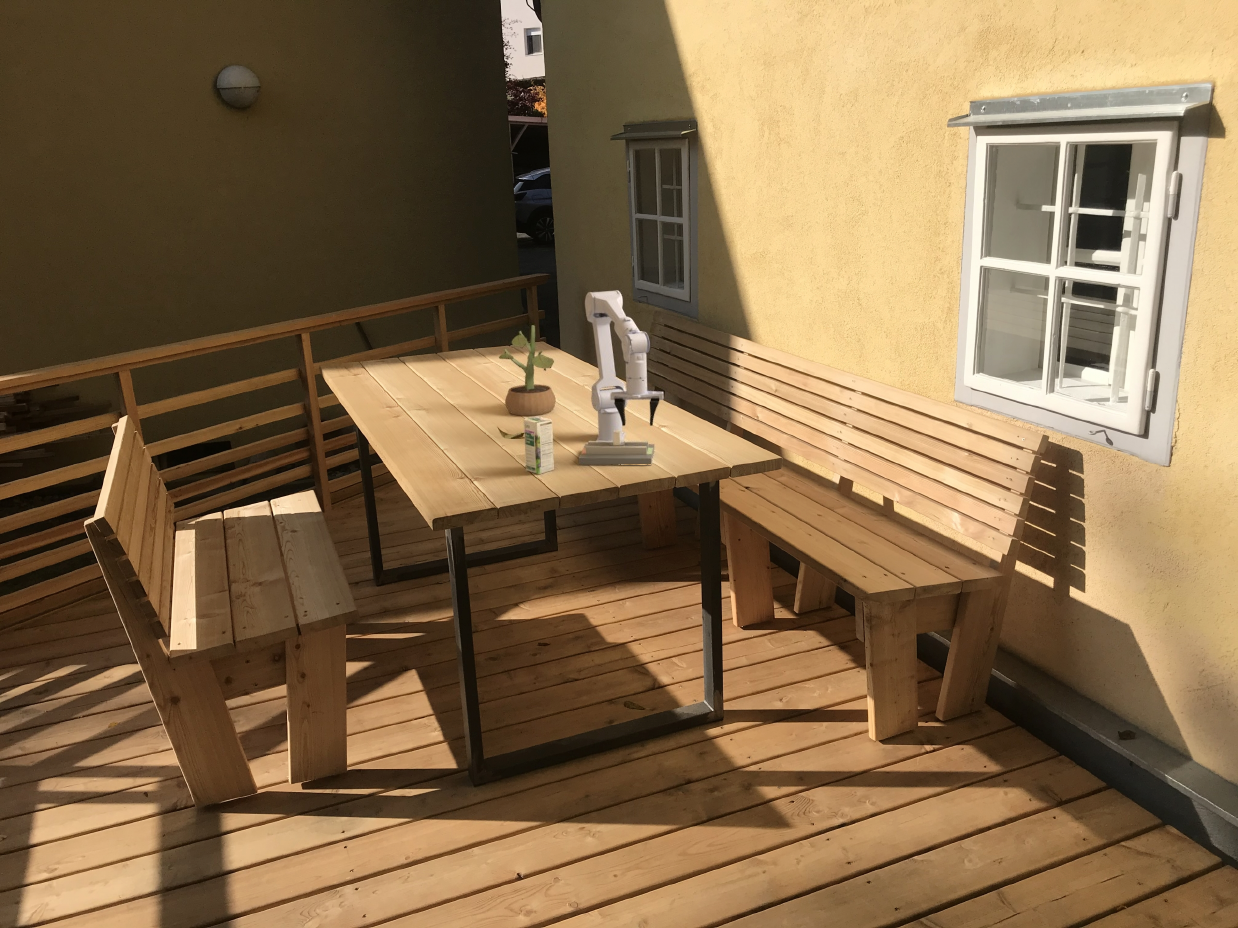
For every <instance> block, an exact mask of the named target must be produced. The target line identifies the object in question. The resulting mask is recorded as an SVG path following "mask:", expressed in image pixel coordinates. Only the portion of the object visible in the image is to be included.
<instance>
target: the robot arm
mask: <svg viewBox="0 0 1238 928" xmlns="http://www.w3.org/2000/svg"><path fill="white" fill-rule="evenodd" d="M622 295H623V294H621V291H619V290H617V289H616V290H608V291H607V290H606V291H593V292H591V291H588V292H587V294H586V295H585V300H584V308H585V314H586V315H585V316H586V319H587V322H589V323H591V324H592V328H593V337H594V344H595V353H596V360H597V361H596V362H597V368H598V379H597V380H596V381H595V383H593V384H592V385H591V394H590V395H591V397H590V399H591V405H592V408H593V409H594V411H596V412H597V420H598V422H597V424H598V425H597V427H598V435H597V438H596V440H595V441H613V432H614V430H621V441H625V440H624V439H625V437H626V432H623V427H625V426H626V421H627V420H626V413H625V411H626V410H625V409H626V407H627V405H628V402H629V401H631V400H638V401H639V400H650V401H649V427H652V426H654V418H655V414H656V411H657V409H658V406H659V404H660V401H663V400H664V391H656V390H655V391H654V390H653V391H652V390H648V372H647V371H648V370H647V365H648V364H647V354H648V353H649V351H650V348H651V345H650V344H651V342H650V338H649V335H648V333H647V332H646V331H640V329H639V328H638V326H637V325H636V323H635V321H634V320H633V319H632V318H631V317H630V316H626V313H625V311H624V310H623V303H624V302H623V301H624V300H623V296H622ZM612 322H613V323H614V327H613V329H614V331H615V333H616V334H617V336H618V338H619V339H620V341H621V350H622V353H623V354H622V355H623V361H625V380H626V381H625V382H623V380H621V379H619V378H618V377H617V376H616V368H615V360H614V359H615V358H614V353H613V345H612V343H613V342H612V336H611V335H612V334H611V327H610V324H611V323H612ZM625 383H626V384H625ZM625 385H626V386H625Z"/></svg>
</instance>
